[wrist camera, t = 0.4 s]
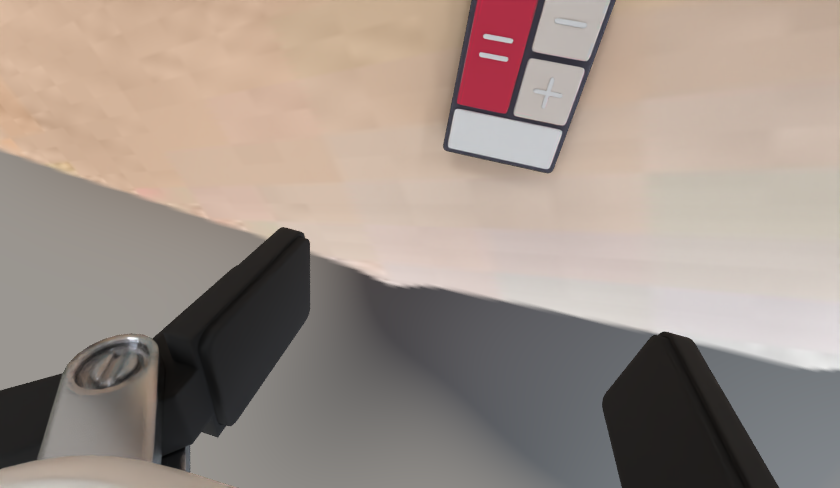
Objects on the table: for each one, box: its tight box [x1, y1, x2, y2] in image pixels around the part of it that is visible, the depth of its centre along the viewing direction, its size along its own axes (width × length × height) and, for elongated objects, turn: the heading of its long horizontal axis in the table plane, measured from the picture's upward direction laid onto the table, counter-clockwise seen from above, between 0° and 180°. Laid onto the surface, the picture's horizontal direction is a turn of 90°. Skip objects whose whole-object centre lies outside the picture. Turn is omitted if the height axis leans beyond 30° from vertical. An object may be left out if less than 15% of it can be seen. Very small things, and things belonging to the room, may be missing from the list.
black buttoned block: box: [443, 0, 616, 173], centre depth 32 cm, size 11×4×15 cm
